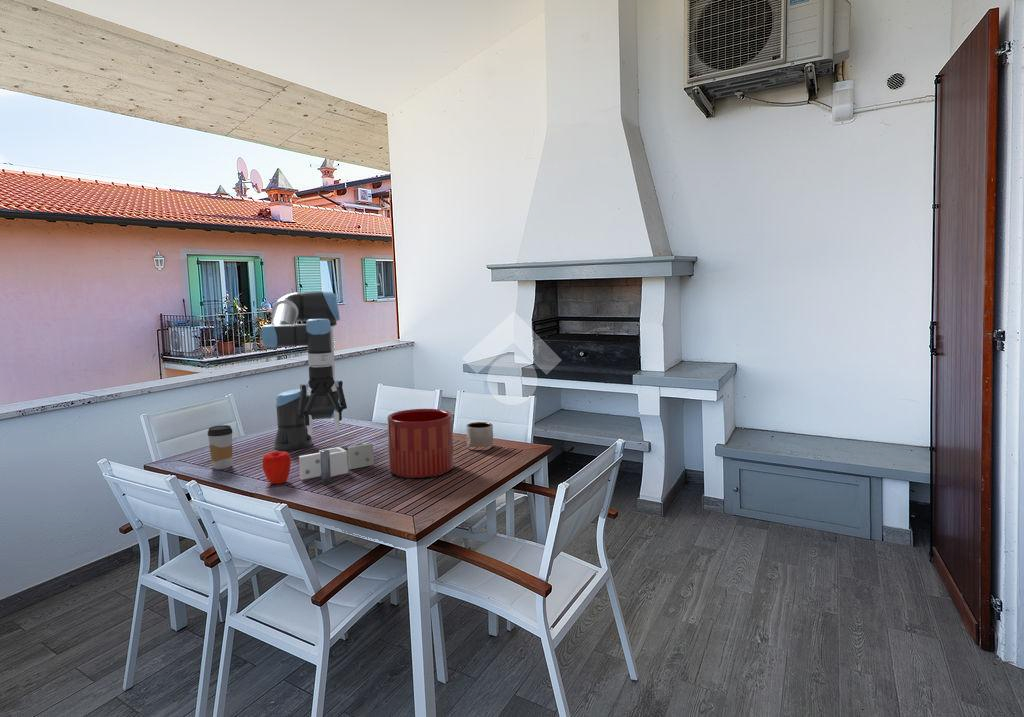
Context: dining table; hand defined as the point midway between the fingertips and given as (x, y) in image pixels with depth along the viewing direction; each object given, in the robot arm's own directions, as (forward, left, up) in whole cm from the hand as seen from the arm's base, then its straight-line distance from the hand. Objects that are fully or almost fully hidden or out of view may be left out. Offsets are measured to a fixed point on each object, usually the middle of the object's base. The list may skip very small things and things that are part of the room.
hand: (323, 432), depth 193 cm
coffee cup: (-42, -24, -18) cm, 51 cm away
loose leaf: (-8, +16, -17) cm, 25 cm away
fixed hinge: (-9, +2, -17) cm, 20 cm away
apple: (-10, -13, -18) cm, 24 cm away
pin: (0, 0, -17) cm, 17 cm away
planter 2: (-3, +65, -18) cm, 67 cm away
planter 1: (+8, +32, -18) cm, 37 cm away
